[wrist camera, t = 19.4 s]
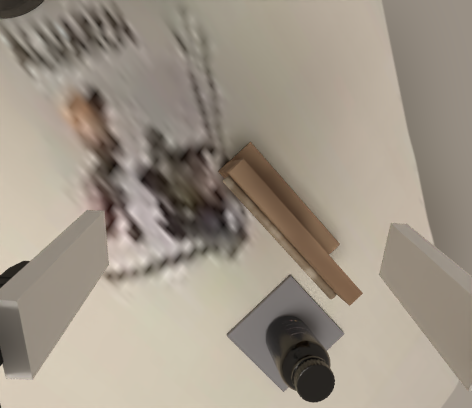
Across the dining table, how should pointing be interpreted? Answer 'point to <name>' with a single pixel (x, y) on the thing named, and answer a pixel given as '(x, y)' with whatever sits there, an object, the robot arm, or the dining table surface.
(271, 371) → the rubber mat
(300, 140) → the dining table surface
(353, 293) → the board
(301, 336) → the supplement bottle
